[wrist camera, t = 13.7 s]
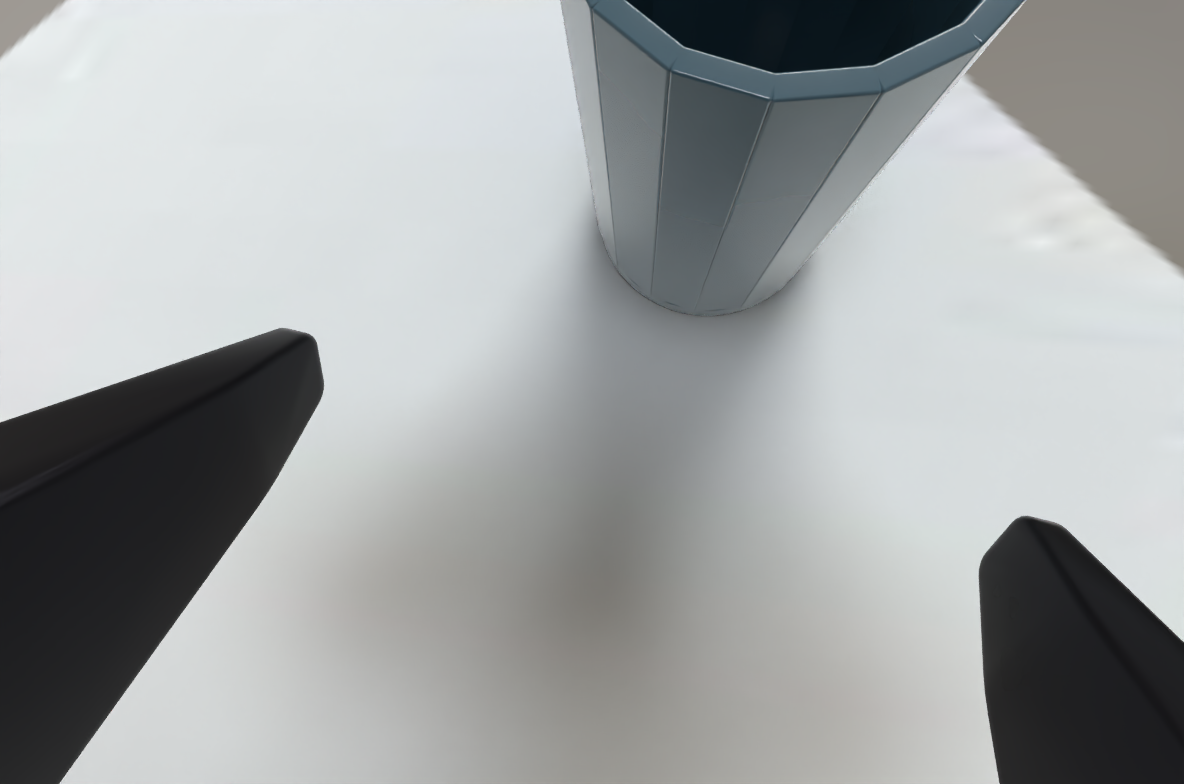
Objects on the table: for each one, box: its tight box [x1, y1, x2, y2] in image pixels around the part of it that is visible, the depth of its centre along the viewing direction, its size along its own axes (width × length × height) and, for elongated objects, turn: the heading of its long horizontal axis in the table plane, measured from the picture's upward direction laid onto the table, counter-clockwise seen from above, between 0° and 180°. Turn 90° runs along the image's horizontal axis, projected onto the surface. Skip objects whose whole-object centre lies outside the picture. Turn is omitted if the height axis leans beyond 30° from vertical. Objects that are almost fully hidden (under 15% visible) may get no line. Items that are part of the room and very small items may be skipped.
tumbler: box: [560, 0, 1026, 316], centre depth 14 cm, size 7×7×12 cm
